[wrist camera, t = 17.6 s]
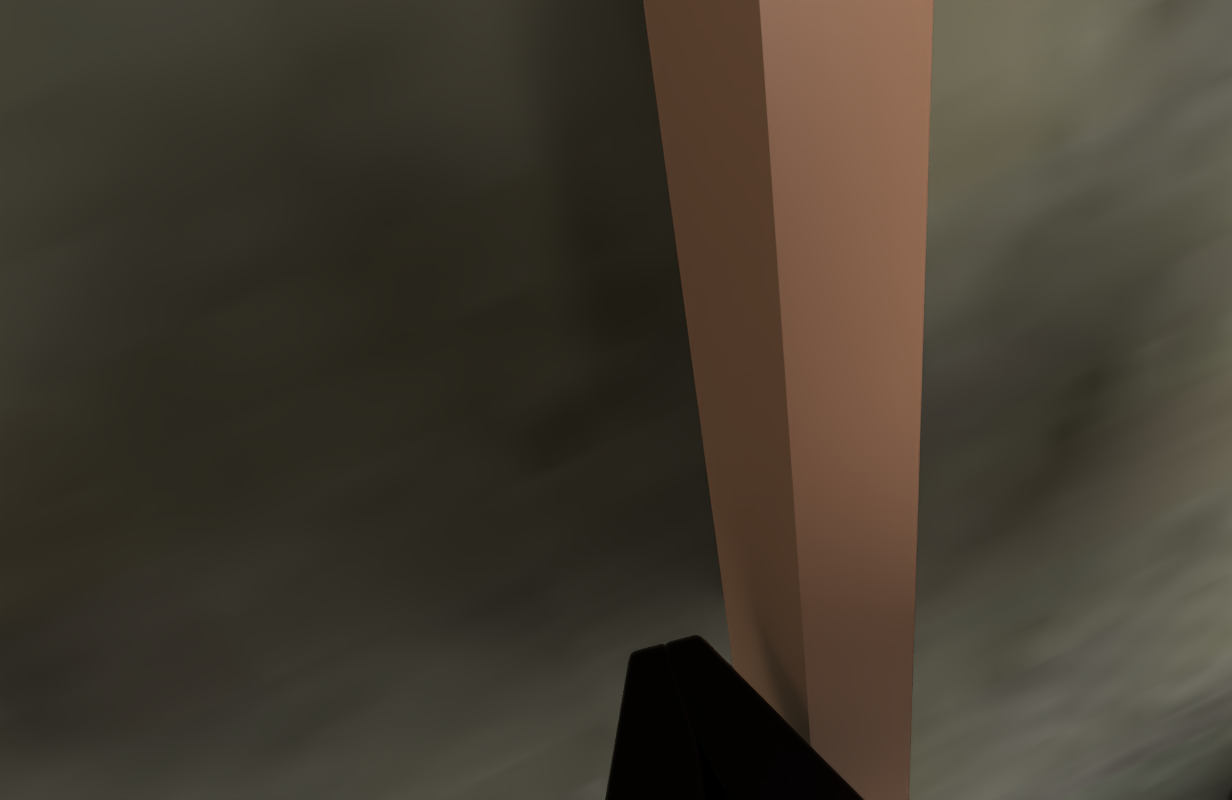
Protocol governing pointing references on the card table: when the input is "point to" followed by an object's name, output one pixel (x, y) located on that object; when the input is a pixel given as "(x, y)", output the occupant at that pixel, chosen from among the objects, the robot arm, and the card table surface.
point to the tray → (808, 343)
